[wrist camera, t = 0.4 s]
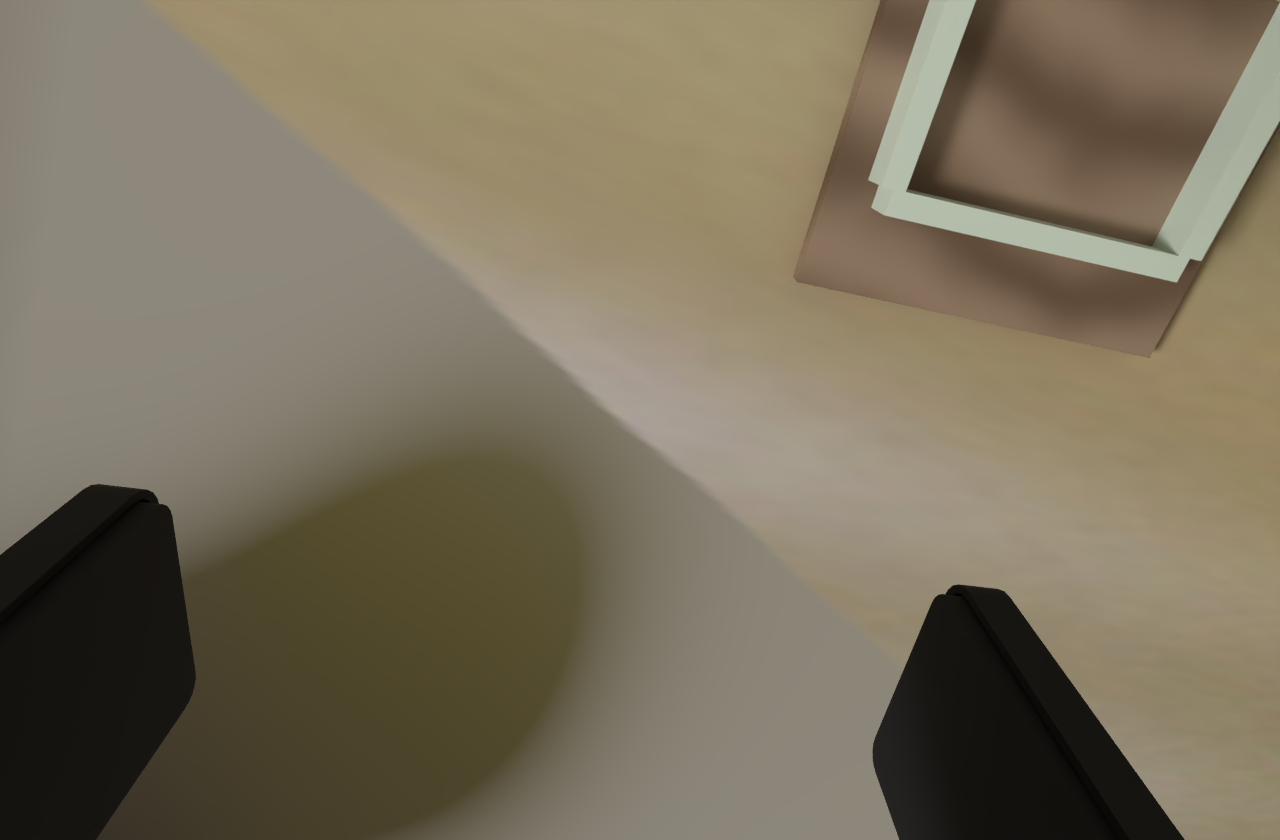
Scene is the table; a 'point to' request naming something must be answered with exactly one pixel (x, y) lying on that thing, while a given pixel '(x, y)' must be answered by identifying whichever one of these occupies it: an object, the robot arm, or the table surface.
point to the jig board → (1046, 159)
